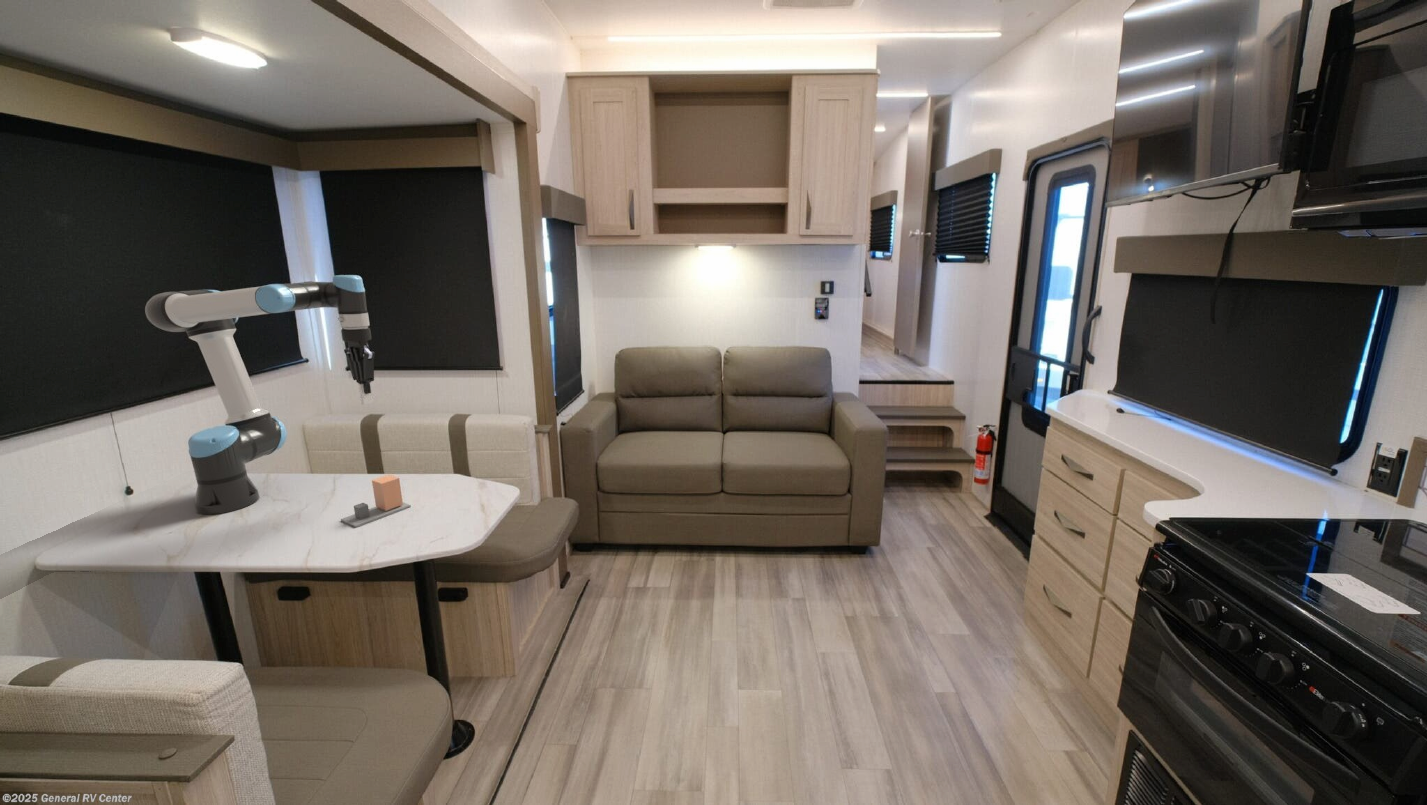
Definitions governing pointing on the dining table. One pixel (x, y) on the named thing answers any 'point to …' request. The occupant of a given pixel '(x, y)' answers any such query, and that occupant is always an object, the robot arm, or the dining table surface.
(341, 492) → the dining table surface
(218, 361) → the robot arm
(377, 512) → the stand
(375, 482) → the orange block
